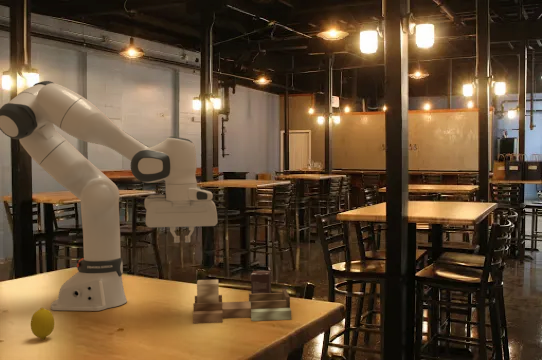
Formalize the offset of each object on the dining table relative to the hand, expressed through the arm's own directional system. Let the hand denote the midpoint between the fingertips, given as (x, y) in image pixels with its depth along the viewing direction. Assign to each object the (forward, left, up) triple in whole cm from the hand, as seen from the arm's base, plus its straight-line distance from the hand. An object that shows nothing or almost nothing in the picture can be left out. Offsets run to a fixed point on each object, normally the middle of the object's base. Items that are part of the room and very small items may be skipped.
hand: (182, 242), depth 163 cm
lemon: (-34, -17, -21) cm, 44 cm away
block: (+7, 0, -19) cm, 20 cm away
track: (+16, 0, -21) cm, 27 cm away
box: (+24, +23, -21) cm, 40 cm away
